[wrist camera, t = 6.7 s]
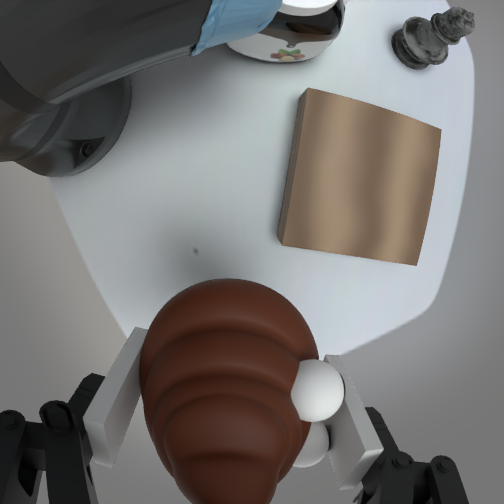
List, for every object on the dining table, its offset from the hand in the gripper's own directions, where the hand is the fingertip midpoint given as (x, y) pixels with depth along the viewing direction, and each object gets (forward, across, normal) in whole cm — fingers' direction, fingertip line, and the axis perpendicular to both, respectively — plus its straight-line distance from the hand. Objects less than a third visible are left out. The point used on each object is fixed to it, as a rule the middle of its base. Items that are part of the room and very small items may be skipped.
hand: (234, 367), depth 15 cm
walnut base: (+17, +10, +11) cm, 23 cm away
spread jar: (+17, 0, +26) cm, 31 cm away
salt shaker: (+18, +15, +28) cm, 36 cm away
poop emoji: (+1, 0, 0) cm, 1 cm away
